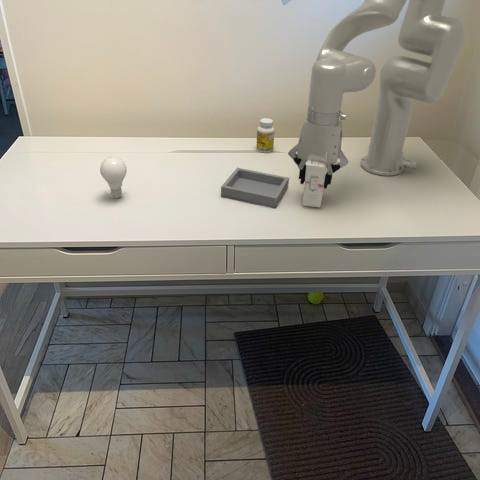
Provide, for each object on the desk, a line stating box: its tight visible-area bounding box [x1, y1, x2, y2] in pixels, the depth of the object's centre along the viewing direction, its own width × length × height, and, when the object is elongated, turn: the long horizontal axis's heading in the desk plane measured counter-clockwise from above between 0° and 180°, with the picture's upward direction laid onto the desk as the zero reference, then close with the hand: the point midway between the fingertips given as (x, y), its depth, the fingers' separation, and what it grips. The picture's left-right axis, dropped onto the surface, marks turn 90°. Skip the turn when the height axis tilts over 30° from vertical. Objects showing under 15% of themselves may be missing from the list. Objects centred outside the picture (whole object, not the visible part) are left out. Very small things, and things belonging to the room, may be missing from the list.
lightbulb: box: [99, 156, 128, 199], centre depth 119 cm, size 6×6×11 cm
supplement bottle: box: [256, 117, 276, 154], centre depth 147 cm, size 5×5×10 cm
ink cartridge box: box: [301, 152, 327, 208], centre depth 119 cm, size 9×5×15 cm, turn 168°
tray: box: [220, 167, 290, 209], centre depth 126 cm, size 15×12×3 cm
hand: (314, 183), depth 121 cm, fingers closed on ink cartridge box, 5 cm apart
